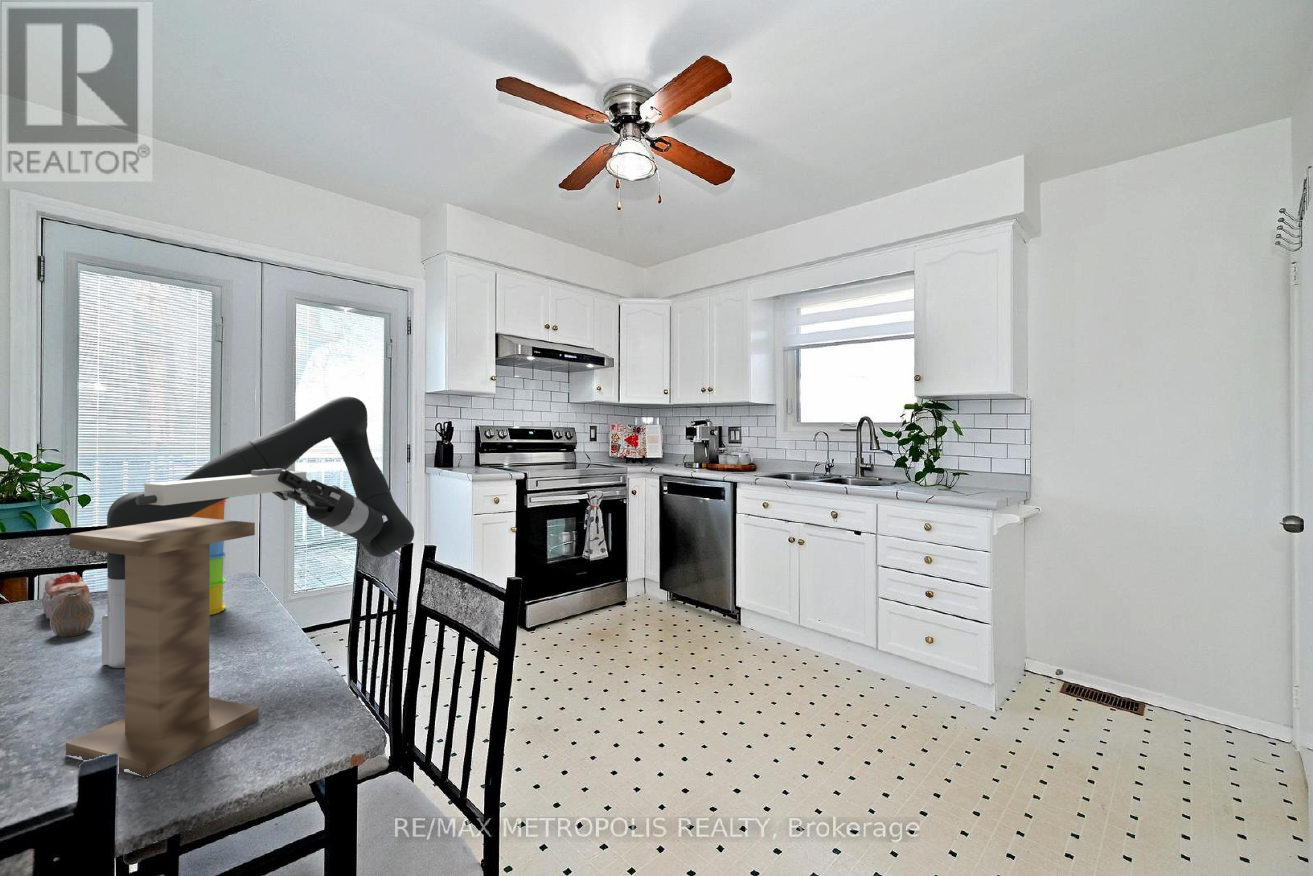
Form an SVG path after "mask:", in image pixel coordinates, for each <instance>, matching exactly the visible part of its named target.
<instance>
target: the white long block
mask: <svg viewBox="0 0 1313 876" xmlns="http://www.w3.org/2000/svg"><path fill="white" fill-rule="evenodd" d="M282 470H284V469H280V468H276V469H264V470H251V474H249V475H237V476H226V477H214V478H203V479H191V480H180V479H179V480H180V481H178V480H172V481H171V480H170V481H158V482H149V483H148V482H147V483H144V485H143V486H144V487H143V488H144V489H143V490H144V491H143V492H144V496H141V497H137V498H136V504H137V505H144V504H153V505H171V504H180V503H188V502H196V501H204V500H212V499H220V498H228V497H230V498H234V497H235V498H236V497H243V496H244V497H245V496H250V495H251V496H252V495H260V494H267V493H269V494H270V493H272V492H277V491H285V490H293V491H294V489H292V488H291V487H289V486H287V485H285V484H283V483H281V482H279V481H278V477H279V475H280V473H281V471H282ZM288 471H289V472H291V473H293V474H295V475H297V476H298V477H300V478H306V479H307V472H306V471H299V470H297V471H296V470H295V471H294V470H288ZM228 499H229V498H228Z"/></svg>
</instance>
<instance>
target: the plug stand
mask: <svg viewBox="0 0 1313 876" xmlns="http://www.w3.org/2000/svg"><path fill="white" fill-rule="evenodd" d="M255 523H256V522H252V521H239V520H228V519H224V520H220V519H209V518H198V517H186V518H179V519H172V520H165V521H158V522H151V523H144V524H137V525H130V526H123V527H116V528H109V529H107V528H103V529H96V530H90V531H81V532H75V533H70V534H69V548H70V549H75V550H83V551H91V552H99V553H105V554H107V553H114V554H122V555H125V668H124V718H122V719H119V720H117V721H115V722H113V723H110V724H107V725H106V726H102V727H100V728H98V729H95V730H93V731H91V732H89V733H86V734H83V735H82V736H79V737H76V738H74V739H71V740H70V741H67V742H65V756H66V755H71V756H77V757H79V756H81V757H82V759H83V760H89V759H94V758H96V757H99V756H102V755H107V754H112V753H118V754H119V771H118V772H121V773H124V769H129V770H130V771H132V772H135V773H137V774H139V775H141V776H144V777H147V776H149V775H150V774H153V773H155V772H157V773H159V772H161V771H163V770H165V769H166V767H167V768H168V766H169V765H171V766H172V765H174V764H177V763H179V762H180V761H182V760H184V759H186V758H188V757H191V756H192V755H194V754H195V753H197V752H199V751H202V750H203V749H205V748H207V747H210V746H211V745H213V744H215V743H217V742H219V741H221V740H223V739H224V738H226V737H228V736H230V735H232V734H234V733H236V732H238V731H239V730H241V729H244V728H246V727H247V726H249V725H251V724H253V723H255V722H257V721H259V707H257V706H252V705H248V704H244V703H238V702H233V701H228V700H225V699H224V700H223V699H219V698H215V697H214V698H213V697H210V616H211V615H210V544H211V543H216V542H221V541H224V542H226V541H230V540H236V539H240V538H241V539H242V538H248V537H251V536H255V535H256V529H255V528H256V527H255ZM83 760H81V762H84V761H83ZM169 767H170V766H169ZM164 768H165V769H164ZM162 769H163V770H162ZM160 770H161V771H160ZM158 771H159V772H158ZM155 774H156V773H155ZM153 775H154V774H153Z"/></svg>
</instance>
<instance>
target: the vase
mask: <svg viewBox="0 0 1313 876" xmlns="http://www.w3.org/2000/svg"><path fill="white" fill-rule="evenodd" d="M95 616H96V615H95V609H94V606H93V604H92V603H91V602H90V601H89V602H88V601H87V600H86V599H84V598H83V597H82V595H81V594H80V593H71V594H67V595H65V596H64V598H63V600H62V601H61V602H60V603H59V604H58V605H57V606H56V607H55V608H54V610H53V611H52V614H51V616H50V619H49V626H50V629H51V631H52V632H53V634H55V635H57V636H58V637H60V638H61V637H62V638H66V637H67V638H69V637H75V636H79V635H82V634H84V633H86V632H87V631H88V630H89V629H90V628H91V626H92V625H93V624H94V622H95V621H94V620H95Z"/></svg>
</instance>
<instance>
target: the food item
mask: <svg viewBox="0 0 1313 876" xmlns="http://www.w3.org/2000/svg"><path fill="white" fill-rule="evenodd" d="M44 587H45V588H43V595H42V598H41V604H42V606H41V607H42V609H43V613H44V615H45V618H46V619H48V620H50V616H51V614H52V611H53V610H54V608H55V607H56V606H57V605H58V604H59V603H60V602H61V601H62V600H63V598H64V596H65V595H67V594H71V593H80V594H81V595H82V597H83V598H84V599H86V600H87V601H88V602H89V603H90V602H91V599H90V597H91V596H90V588H89V586H88V584H87V583H85V581H84V579H83V578H82V577H81V575H80V574H70V573H66V574H64V575H61V576H58V577H54V578H53V577H52V576H51V577H50V579H48V580H46V581H45V584H44Z"/></svg>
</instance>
